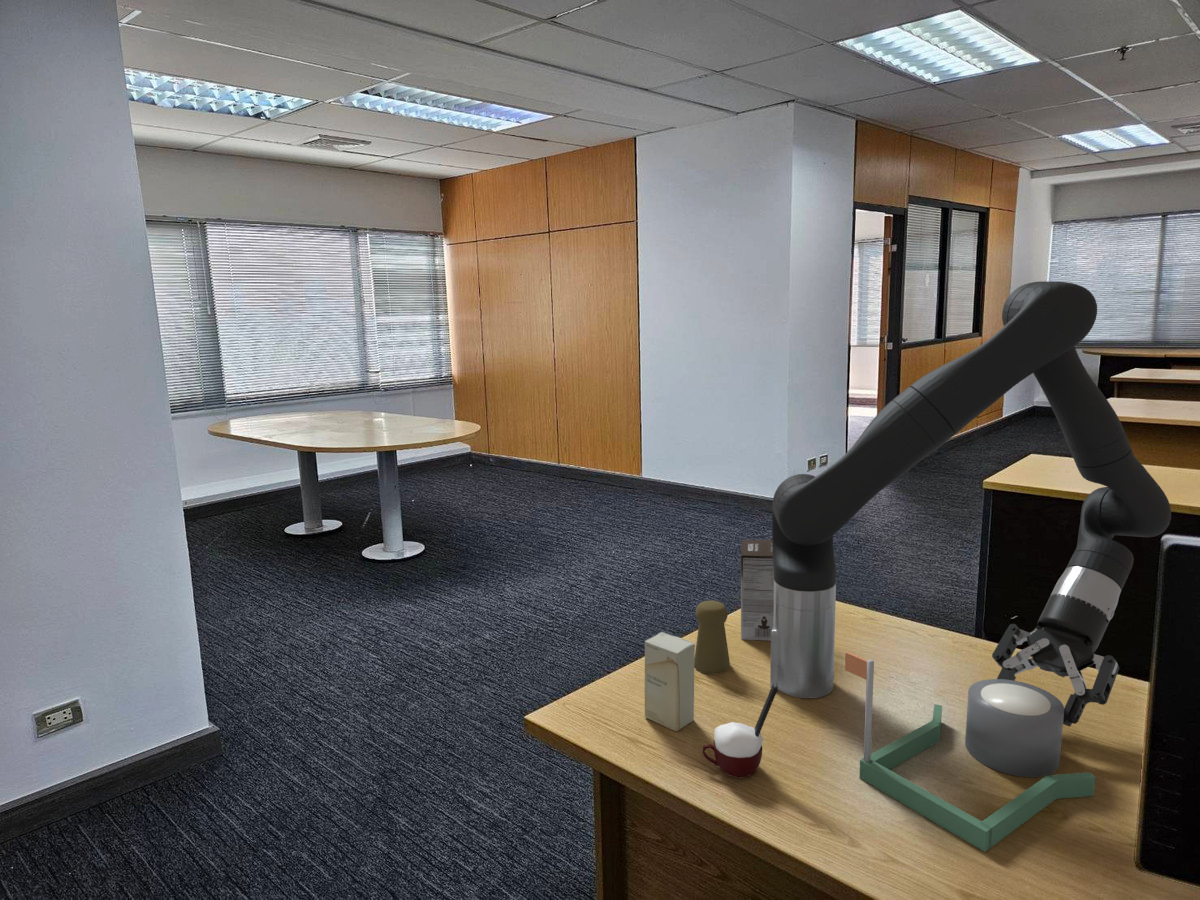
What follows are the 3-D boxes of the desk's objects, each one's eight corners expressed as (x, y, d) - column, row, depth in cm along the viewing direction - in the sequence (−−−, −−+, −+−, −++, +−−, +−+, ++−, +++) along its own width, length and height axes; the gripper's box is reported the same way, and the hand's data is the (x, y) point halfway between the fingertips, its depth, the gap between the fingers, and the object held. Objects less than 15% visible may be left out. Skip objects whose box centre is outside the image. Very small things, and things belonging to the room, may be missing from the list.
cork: (708, 653, 132) (708, 593, 129) (737, 664, 127) (737, 602, 125) (686, 666, 127) (685, 604, 125) (715, 677, 123) (715, 613, 121)
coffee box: (741, 619, 145) (741, 538, 142) (776, 620, 144) (776, 539, 141) (740, 640, 136) (740, 554, 133) (777, 642, 135) (778, 555, 132)
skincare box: (643, 717, 112) (641, 640, 110) (662, 705, 115) (660, 630, 113) (678, 733, 108) (676, 653, 106) (696, 719, 111) (695, 642, 109)
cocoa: (699, 776, 99) (693, 692, 96) (716, 749, 104) (710, 668, 102) (771, 793, 94) (767, 705, 92) (785, 764, 100) (781, 680, 97)
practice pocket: (931, 717, 110) (936, 612, 107) (1095, 794, 92) (1107, 671, 89) (840, 766, 99) (843, 651, 96) (1005, 864, 81) (1016, 727, 78)
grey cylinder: (967, 767, 98) (971, 712, 96) (962, 723, 108) (965, 673, 106) (1066, 784, 94) (1072, 727, 92) (1051, 736, 104) (1056, 685, 102)
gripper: (1019, 579, 110) (970, 677, 106) (1130, 610, 99) (1080, 721, 95) (1035, 604, 114) (989, 699, 110) (1144, 637, 102) (1096, 744, 98)
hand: (1031, 709), depth 102 cm, fingers open, 8 cm apart
